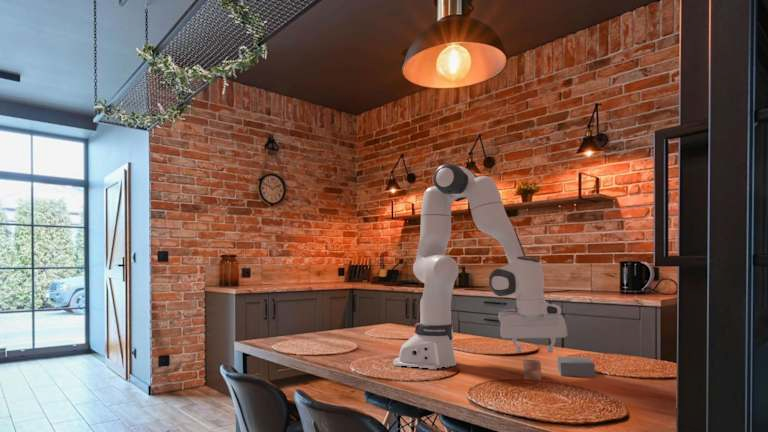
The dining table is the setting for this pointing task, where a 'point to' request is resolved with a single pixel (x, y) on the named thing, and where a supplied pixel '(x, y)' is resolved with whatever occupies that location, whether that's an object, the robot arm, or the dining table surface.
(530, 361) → the cube
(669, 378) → the dining table surface
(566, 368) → the base block
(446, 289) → the robot arm
